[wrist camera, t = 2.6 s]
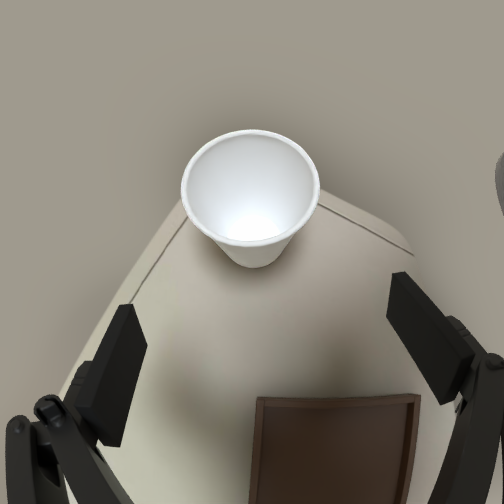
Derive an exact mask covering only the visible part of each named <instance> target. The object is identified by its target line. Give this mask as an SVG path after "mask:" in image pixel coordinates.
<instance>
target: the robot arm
mask: <svg viewBox="0 0 504 504" xmlns="http://www.w3.org/2000/svg"><path fill="white" fill-rule="evenodd" d="M386 318H387V319H388V321H389V322H390V324H391V325H392V327H393V328H394V330H395V331H396V333H397V334H398V336H399V338H400V339H401V341H402V342H403V344H404V345H405V347H406V349H407V350H408V352H409V353H410V355H411V357H412V358H413V360H414V362H415V363H416V365H417V367H418V368H419V370H420V371H421V373H422V375H423V376H424V378H425V380H426V382H427V383H428V385H429V387H430V388H431V390H432V392H433V393H434V395H435V397H436V399H437V400H438V402H439V404H440V405H443V404H446V403H448V402H451V401H453V400H455V398H456V396H457V394H458V392H459V391H460V393H461V395H462V396H463V397H462V399H461V401H460V403H459V405H458V406H457V408H456V410H455V413H457V411H458V413H457V417H456V421H455V425H454V429H453V432H452V436H451V439H450V443H449V446H448V449H447V452H446V456H445V459H444V462H443V464H442V467H441V470H440V473H439V476H438V478H437V481H436V484H435V486H434V489H433V491H432V494H431V496H430V499H429V501H428V503H427V504H485V502H486V499H487V496H488V492H489V488H490V484H491V480H492V476H493V472H494V468H495V462H496V458H497V453H498V447H499V442H500V435H501V444H502V461H503V462H502V463H503V499H502V504H504V359H503V358H502V357H501V356H499V355H497V354H494V353H487V352H486V351H485V350H484V349H483V347H482V346H481V345H480V344H479V342H477V340H476V339H475V338H474V337H473V336H472V335H471V333H470V332H469V331H468V330H467V329H466V327H465V326H464V325H463V324H462V323H461V322H460V320H458V319H456V318H455V317H453V316H447V317H445V316H444V315H443V313H442V312H441V311H440V310H439V309H438V308H437V306H436V305H435V304H434V303H433V302H432V301H431V300H430V298H429V297H428V296H427V295H426V294H425V293H424V292H423V291H422V289H421V288H420V287H419V286H418V285H417V284H416V283H415V282H414V281H413V280H412V279H411V277H410V276H409V275H408V274H407V273H406V272H405V271H404V272H398V273H392V280H391V287H390V295H389V302H388V308H387V314H386ZM147 346H148V345H147V343H146V340H145V337H144V334H143V332H142V329H141V326H140V323H139V320H138V318H137V315H136V312H135V309H134V306H133V304H124V305H119V307H118V309H117V310H116V312H115V314H114V316H113V319H112V321H111V323H110V325H109V327H108V329H107V331H106V333H105V335H104V337H103V339H102V341H101V343H100V345H99V348H98V350H97V352H96V354H95V356H94V359H93V361H84V363H83V364H82V365H81V366H80V367H79V368H78V369H77V371H76V373H75V376H74V378H73V380H72V382H71V385H70V386H69V389H68V391H67V393H66V395H65V398H64V400H63V402H62V401H61V399H60V398H59V397H58V396H56V395H46V396H44V397H42V398H40V399H39V400H38V402H37V403H36V404H35V406H34V414H35V415H36V417H37V418H38V419H39V420H40V421H38V422H30V421H29V419H27V417H26V416H23V415H17V416H15V417H13V418H12V419H11V420H10V421H9V422H8V424H7V427H6V447H5V448H6V451H5V453H6V454H5V455H6V456H5V457H6V485H7V498H8V504H69V499H68V495H67V490H66V485H65V480H64V476H65V478H66V480H67V482H68V484H69V486H70V489H71V491H72V493H73V495H74V497H75V498H76V500H77V502H78V504H134V503H133V501H132V500H131V499H130V497H129V496H128V494H127V493H126V492H125V490H124V489H123V487H122V486H121V484H120V483H119V481H118V480H117V478H116V477H115V475H114V473H113V472H112V470H111V469H110V467H109V465H108V464H107V462H106V460H105V459H104V457H103V455H102V454H101V452H100V450H99V449H98V448H97V446H96V444H97V440H98V439H99V440H100V442H101V443H102V444H103V445H104V446H110V447H120V446H121V441H122V437H123V433H124V429H125V425H126V421H127V417H128V413H129V410H130V406H131V402H132V398H133V395H134V391H135V387H136V384H137V380H138V377H139V373H140V370H141V366H142V363H143V359H144V356H145V353H146V349H147Z"/></svg>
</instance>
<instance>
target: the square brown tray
mask: <svg viewBox="0 0 504 504" xmlns="http://www.w3.org/2000/svg"><path fill="white" fill-rule="evenodd" d="M420 401H421V395H418V394H403V395H392V396H378V397H360V398H273V397H257V401H256V415H255V429H254V442H253V455H252V467H251V479H250V492H249V503H248V504H406V501H407V496H408V492H409V486H410V481H411V476H412V470H413V464H414V457H415V450H416V442H417V434H418V425H419V414H420Z"/></svg>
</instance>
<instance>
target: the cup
mask: <svg viewBox="0 0 504 504" xmlns="http://www.w3.org/2000/svg"><path fill="white" fill-rule="evenodd" d="M319 192H320V182H319V177H318V172H317V170H316V167H315V165H314V163H313V161H312V160H311V158H310V157H309V155H308V154H307V153H306V152H305V151H304V150H303V149H302V148H301V147H300V146H299V145H298V144H296V143H295V142H293V141H291V140H290V139H288V138H286V137H284V136H282V135H279V134H277V133H273V132H269V131H263V130H240V131H235V132H230V133H227V134H225V135H222V136H219V137H217V138H215V139H213V140H212V141H210V142H208V143H207V144H206V145H204V146H203V147H202V148H201V149H199V150H198V151H197V153H196V154H195V155H194V156H193V157H192V158H191V160H190V162H189V164H188V165H187V167H186V169H185V172H184V175H183V178H182V183H181V197H182V203H183V206H184V209H185V211H186V213H187V215H188V217H189V218H190V220H191V221H192V223H193V224H194V225H195V226H196V227H197V228H198V229H199V230H200V231H201V232H203V233H204V234H205V235H207V236H209V237H210V238H212V239H213V240H214V241H215V242H216V244H217V245H218V246H219V247H220V248H221V249H222V250H223V251H224V252H225V253H226V254H227V255H228V256H229V257H230V258H231V259H232V260H233V261H234V262H236V263H237V264H239V265H241V266H244V267H249V268H259V267H263V266H266V265H268V264H270V263H272V262H273V261H274V260H276V258H277V257H278V256H279V255H280V254H281V252H282V251H283V250H284V248H285V247H286V245H287V244H288V243H289V241H290V240H291V238H292V237H293V236H294V234H295V233H296V232H297V231H298V230H300V229H301V228H302V227H303V226H304V225H305V223H306V222H307V221H308V220H309V219H310V217H311V216H312V214H313V212H314V210H315V209H316V206H317V202H318V199H319Z"/></svg>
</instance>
